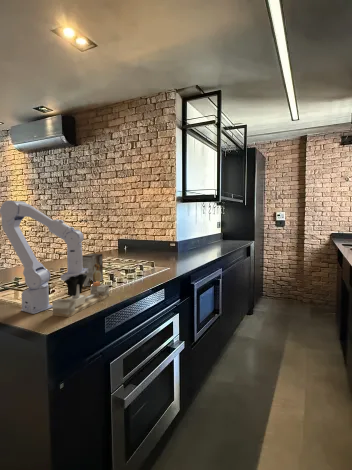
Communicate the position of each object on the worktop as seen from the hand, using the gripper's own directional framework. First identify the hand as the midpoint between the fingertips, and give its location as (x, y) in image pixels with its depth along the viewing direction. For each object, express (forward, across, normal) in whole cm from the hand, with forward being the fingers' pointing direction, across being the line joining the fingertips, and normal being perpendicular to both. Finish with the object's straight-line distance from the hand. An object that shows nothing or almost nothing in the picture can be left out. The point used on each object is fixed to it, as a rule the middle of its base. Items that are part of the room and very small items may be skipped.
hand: (75, 294), depth 118 cm
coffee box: (+6, +34, +15) cm, 38 cm away
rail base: (+6, +5, 0) cm, 8 cm away
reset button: (+2, +17, +2) cm, 17 cm away
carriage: (+4, 0, 0) cm, 4 cm away
